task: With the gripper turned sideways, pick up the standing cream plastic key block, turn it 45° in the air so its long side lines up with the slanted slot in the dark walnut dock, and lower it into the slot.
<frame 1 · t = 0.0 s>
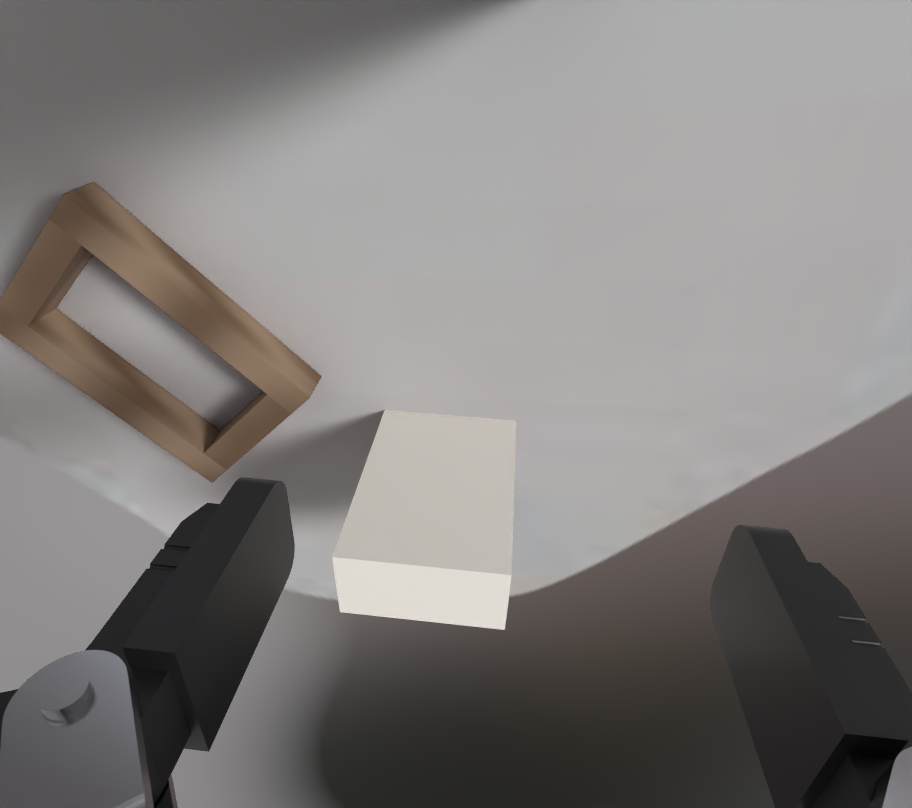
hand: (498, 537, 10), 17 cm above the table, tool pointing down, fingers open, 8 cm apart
key block: (449, 441, 31), on the table
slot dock: (170, 341, 30), on the table
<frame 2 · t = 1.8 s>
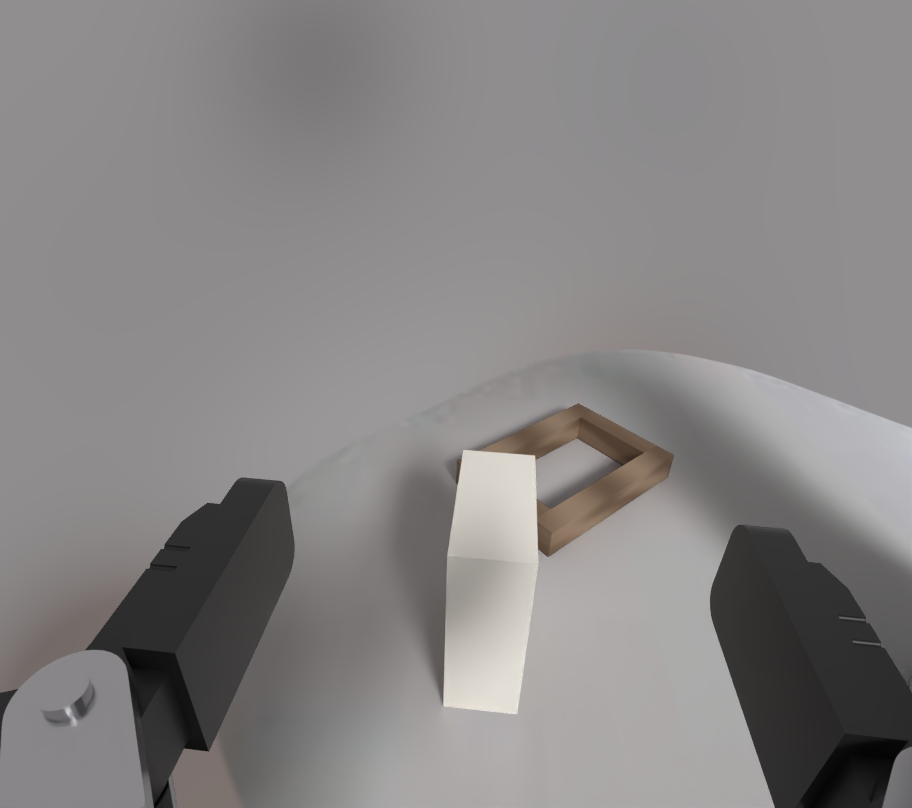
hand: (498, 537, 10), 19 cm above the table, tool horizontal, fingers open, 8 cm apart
key block: (484, 645, 30), on the table
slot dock: (563, 479, 42), on the table
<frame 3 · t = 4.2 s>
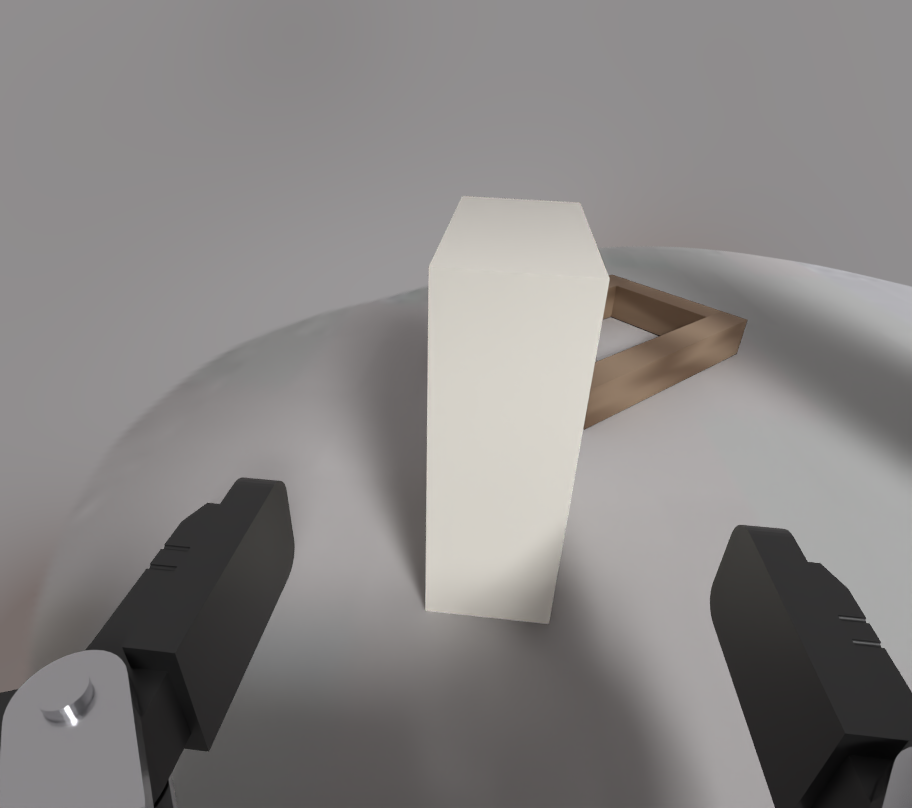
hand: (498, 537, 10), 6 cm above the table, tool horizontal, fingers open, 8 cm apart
key block: (492, 531, 19), on the table
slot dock: (597, 353, 31), on the table
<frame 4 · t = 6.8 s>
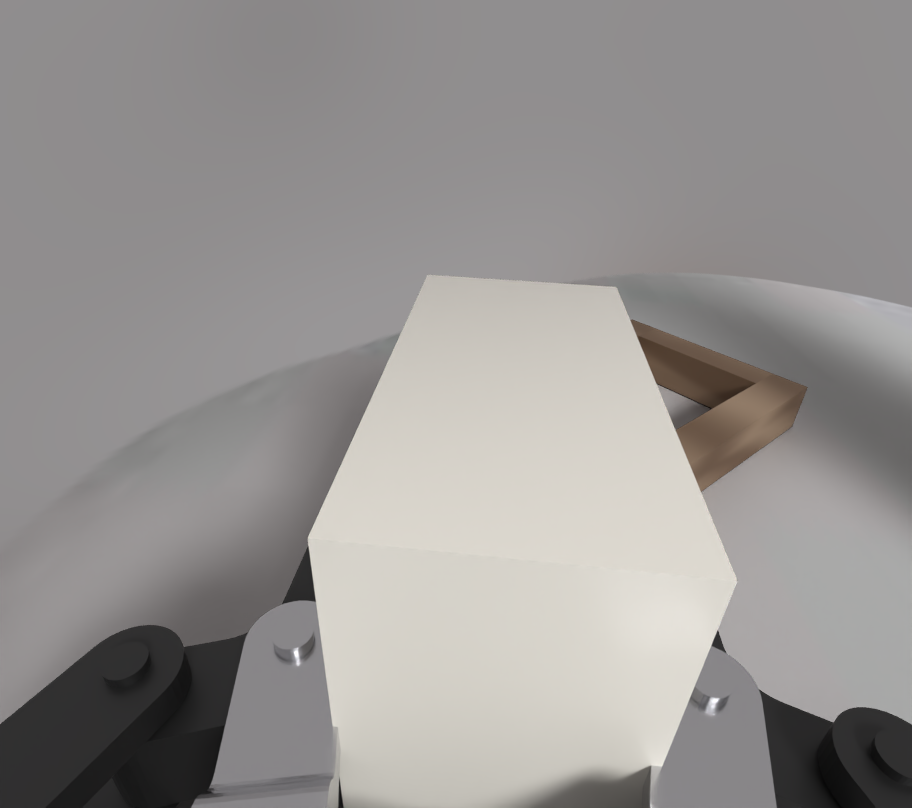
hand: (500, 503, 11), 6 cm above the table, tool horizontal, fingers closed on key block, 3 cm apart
key block: (479, 766, 13), on the table, touching gripper
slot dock: (618, 429, 25), on the table
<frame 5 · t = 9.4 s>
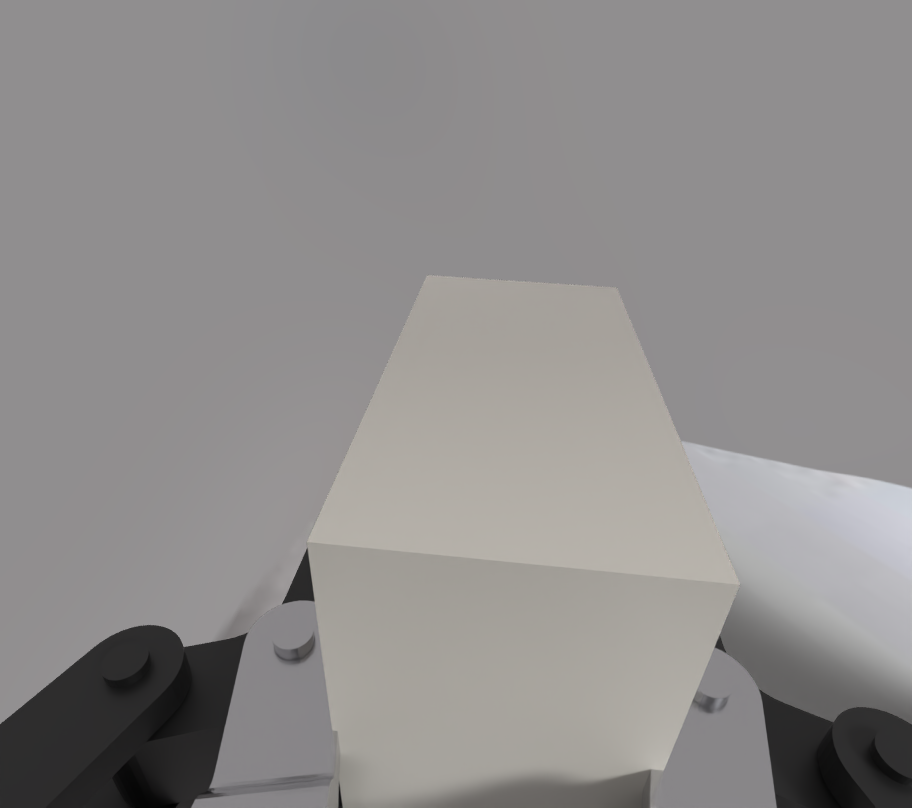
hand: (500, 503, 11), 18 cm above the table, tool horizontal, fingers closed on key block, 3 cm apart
key block: (479, 768, 13), point 12 cm above the table, touching gripper
when the fingers open (9 cm above the table, at t = 12.5 s): key block drops 3 cm, resting in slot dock.
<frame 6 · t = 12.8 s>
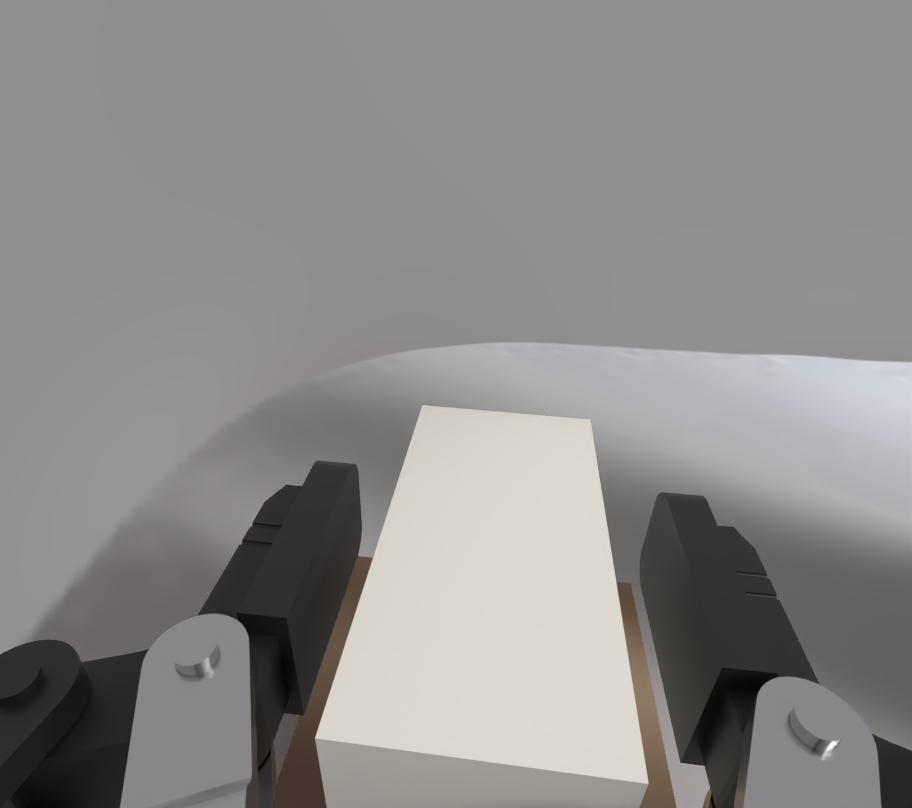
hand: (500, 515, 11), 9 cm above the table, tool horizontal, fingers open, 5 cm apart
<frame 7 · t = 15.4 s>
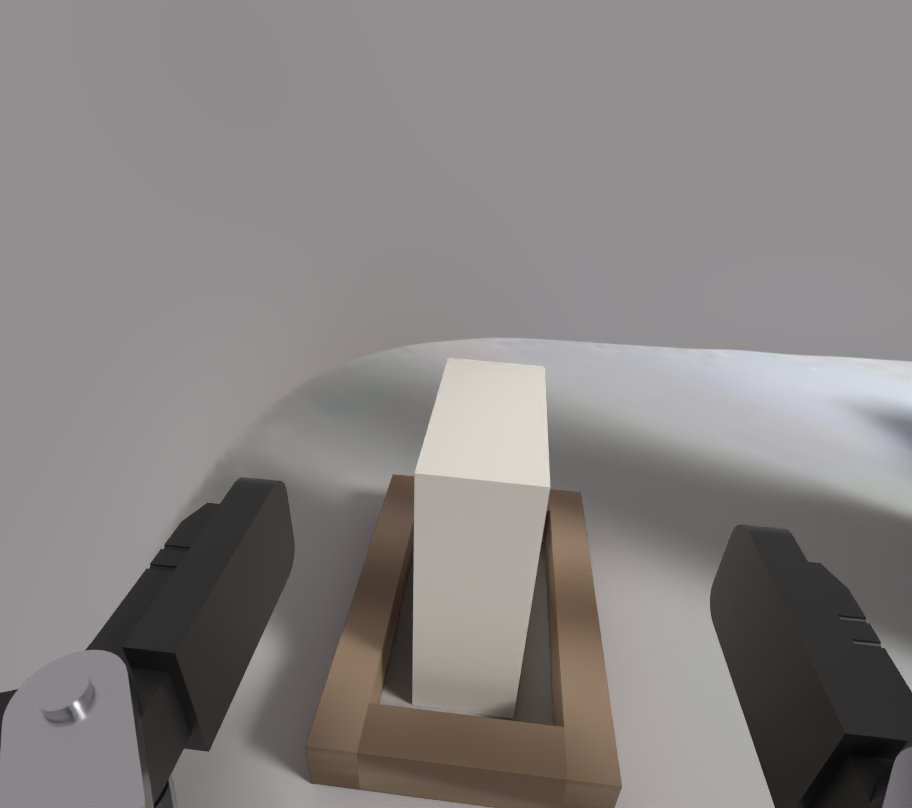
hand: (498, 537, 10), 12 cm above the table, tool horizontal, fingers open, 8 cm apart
key block: (471, 627, 23), resting in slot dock
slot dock: (473, 623, 23), on the table
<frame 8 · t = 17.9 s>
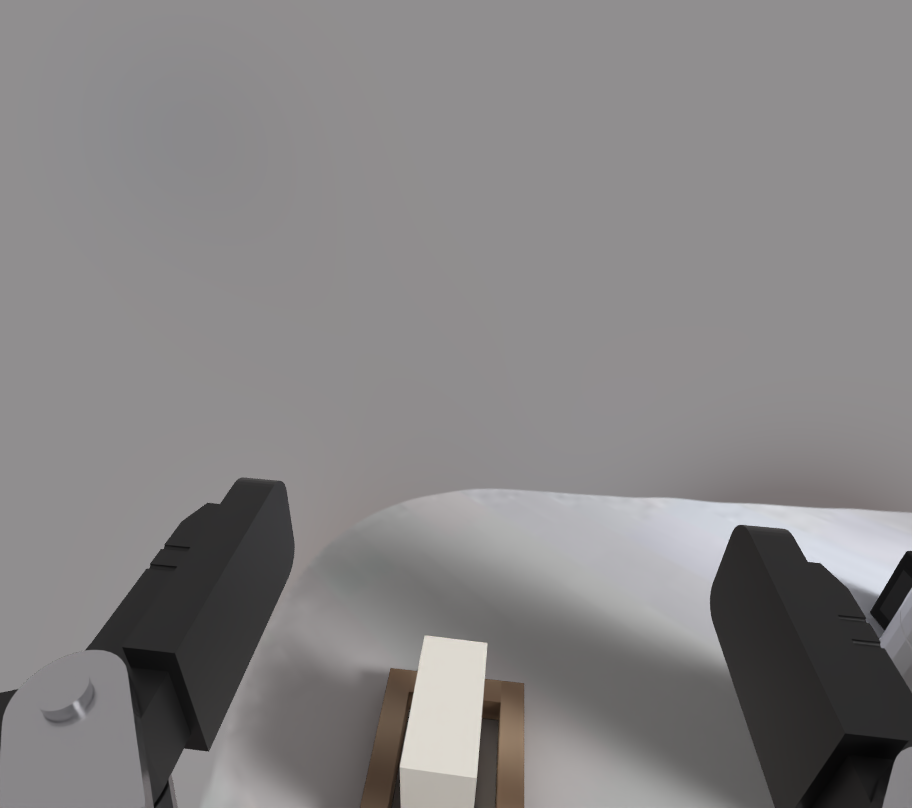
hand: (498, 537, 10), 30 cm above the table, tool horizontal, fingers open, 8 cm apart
key block: (443, 799, 34), resting in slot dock
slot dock: (444, 796, 34), on the table
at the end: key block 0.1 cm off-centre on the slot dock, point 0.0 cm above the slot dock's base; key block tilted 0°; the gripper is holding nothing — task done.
